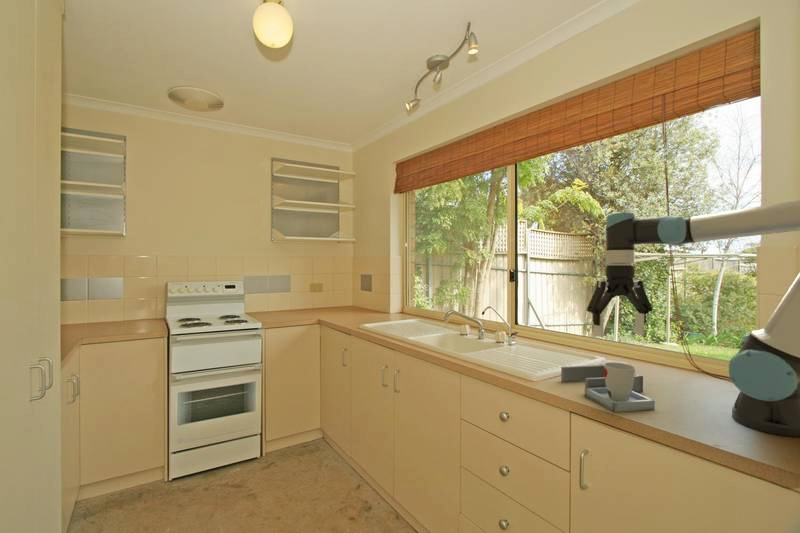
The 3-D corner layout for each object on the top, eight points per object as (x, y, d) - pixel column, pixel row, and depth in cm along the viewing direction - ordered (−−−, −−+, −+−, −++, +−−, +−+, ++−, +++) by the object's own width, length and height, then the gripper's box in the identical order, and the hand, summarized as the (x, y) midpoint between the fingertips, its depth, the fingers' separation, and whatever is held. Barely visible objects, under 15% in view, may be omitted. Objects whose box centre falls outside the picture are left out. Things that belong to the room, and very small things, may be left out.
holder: (642, 391, 127) (643, 376, 127) (587, 394, 124) (587, 379, 124) (611, 378, 141) (611, 364, 141) (561, 380, 138) (561, 366, 138)
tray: (654, 409, 112) (654, 400, 112) (614, 412, 110) (614, 403, 110) (621, 393, 125) (621, 386, 125) (584, 396, 123) (584, 388, 123)
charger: (631, 371, 151) (626, 381, 139) (604, 367, 156) (597, 376, 144) (631, 359, 150) (626, 368, 138) (605, 355, 156) (597, 363, 144)
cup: (608, 392, 123) (609, 360, 123) (638, 399, 117) (638, 366, 117) (599, 398, 117) (600, 365, 117) (630, 406, 112) (630, 371, 112)
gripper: (646, 264, 122) (646, 331, 123) (574, 264, 118) (574, 334, 118) (666, 264, 115) (666, 336, 115) (590, 264, 111) (590, 339, 111)
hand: (619, 335), depth 117 cm, fingers open, 13 cm apart
